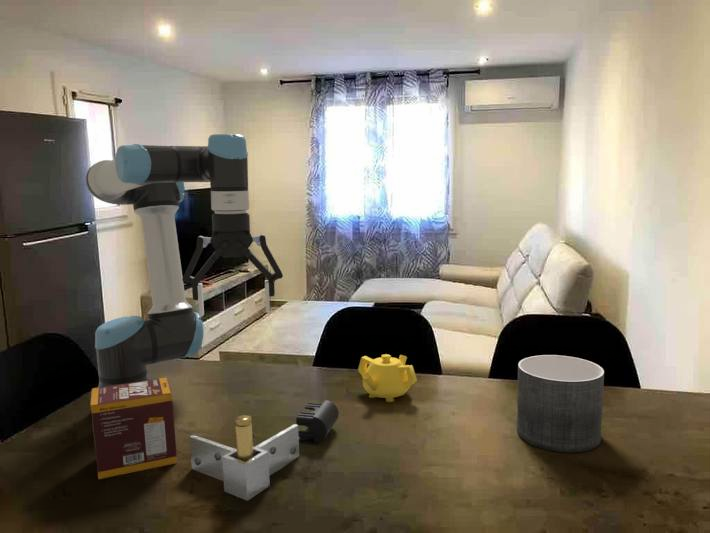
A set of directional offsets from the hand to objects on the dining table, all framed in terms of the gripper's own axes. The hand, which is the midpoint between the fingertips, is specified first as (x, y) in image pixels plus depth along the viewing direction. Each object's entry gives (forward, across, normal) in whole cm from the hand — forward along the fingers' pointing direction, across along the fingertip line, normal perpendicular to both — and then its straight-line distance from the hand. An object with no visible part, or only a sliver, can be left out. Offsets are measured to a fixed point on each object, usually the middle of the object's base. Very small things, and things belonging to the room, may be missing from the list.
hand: (235, 313), depth 118 cm
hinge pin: (+30, +1, -17) cm, 35 cm away
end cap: (+30, +17, +2) cm, 35 cm away
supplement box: (+31, -22, -1) cm, 38 cm away
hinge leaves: (+30, +1, -9) cm, 31 cm away
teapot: (+31, +38, +22) cm, 54 cm away
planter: (+29, +70, -10) cm, 77 cm away
